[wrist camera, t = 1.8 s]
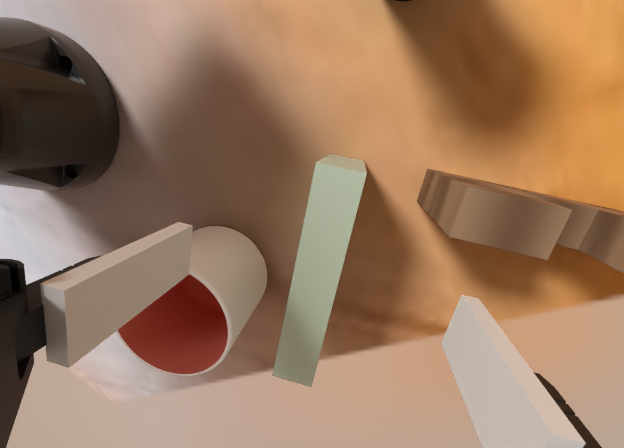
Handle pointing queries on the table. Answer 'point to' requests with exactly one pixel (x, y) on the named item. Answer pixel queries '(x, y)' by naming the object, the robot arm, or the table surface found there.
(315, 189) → the sage plate
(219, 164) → the table surface
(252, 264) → the cup
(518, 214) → the walnut stand
